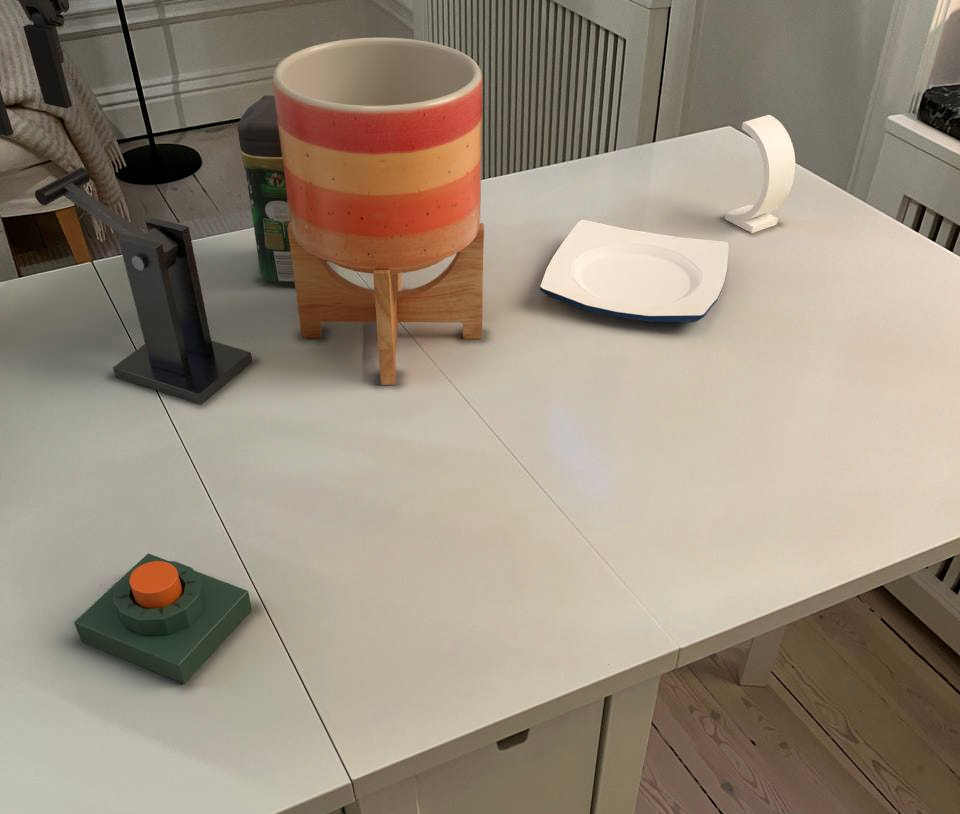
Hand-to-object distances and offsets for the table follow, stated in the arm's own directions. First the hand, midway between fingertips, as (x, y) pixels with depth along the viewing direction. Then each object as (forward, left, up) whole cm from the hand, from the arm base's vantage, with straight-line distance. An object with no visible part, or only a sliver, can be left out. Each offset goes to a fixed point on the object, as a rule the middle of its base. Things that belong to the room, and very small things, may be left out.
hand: (29, 117), depth 94 cm
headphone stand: (+56, +62, -23) cm, 87 cm away
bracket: (+12, 0, -23) cm, 26 cm away
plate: (+48, +39, -23) cm, 66 cm away
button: (+34, -31, -19) cm, 50 cm away
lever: (+7, 0, -9) cm, 11 cm away
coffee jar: (+10, +24, -23) cm, 35 cm away
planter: (+28, +16, -23) cm, 40 cm away
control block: (+34, -31, -23) cm, 51 cm away
